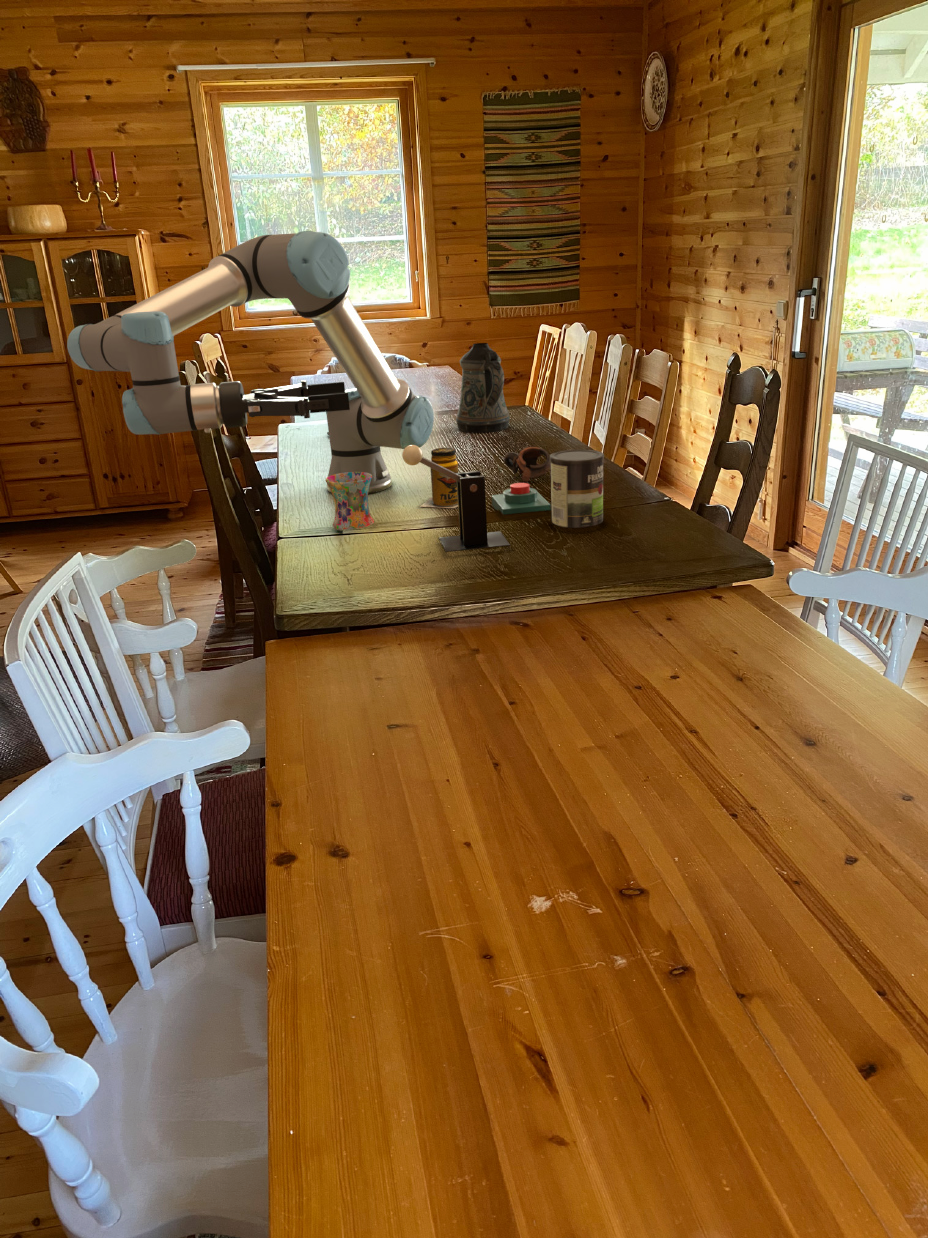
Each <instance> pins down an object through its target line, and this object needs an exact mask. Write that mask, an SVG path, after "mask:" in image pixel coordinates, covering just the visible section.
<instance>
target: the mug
mask: <svg viewBox="0 0 928 1238" xmlns="http://www.w3.org/2000/svg"><path fill="white" fill-rule="evenodd" d="M371 478H372V475H371V474H369V473H365V472H345V473H339V474H334V475H331V476H329V477H328V476H327V477H326V478H325V479H324V481H325V482H326V485H327V484H328V486H329V488H330V490H331V492H330V493H331V496H332V499H333V502H334V519H333V523H332V528H333V529H335V530H336V531H339V532H343V530H355V529H356V530H357V529H362V528H367V527H369V526H371V525H373V524H374V523H375V520H374V518H373V517H372V515H371V512H370V508H369V493H368V490H369V485H370V481H371Z"/></svg>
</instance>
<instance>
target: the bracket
mask: <svg viewBox="0 0 928 1238" xmlns="http://www.w3.org/2000/svg"><path fill="white" fill-rule="evenodd" d="M456 474H458V475H460V476H462V478H460V482H458V481H457V496H458V507H457V512H458V513H457V514H458V530H459V535H450V536H440V537H438V540H439V543H440V544H441V546H442V548H443V550H444V552H445V553H450V552H462V551H469V550H480V549H481V550H482V549H490V548H498V547H508V546H511V544H510V543H509V541H508V540H507V538H506V537H505V536H504V534H503V533H502V532H501V531H500V530H498V531H490V532H488V519H487V518H488V517H487V499H486V478H485V475H481V471H480V470H473V471H472V470H471V471H462V472H458V473H456ZM466 474H467V475H469V476H471V477H465V475H466Z"/></svg>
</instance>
